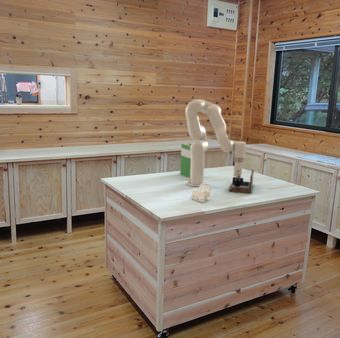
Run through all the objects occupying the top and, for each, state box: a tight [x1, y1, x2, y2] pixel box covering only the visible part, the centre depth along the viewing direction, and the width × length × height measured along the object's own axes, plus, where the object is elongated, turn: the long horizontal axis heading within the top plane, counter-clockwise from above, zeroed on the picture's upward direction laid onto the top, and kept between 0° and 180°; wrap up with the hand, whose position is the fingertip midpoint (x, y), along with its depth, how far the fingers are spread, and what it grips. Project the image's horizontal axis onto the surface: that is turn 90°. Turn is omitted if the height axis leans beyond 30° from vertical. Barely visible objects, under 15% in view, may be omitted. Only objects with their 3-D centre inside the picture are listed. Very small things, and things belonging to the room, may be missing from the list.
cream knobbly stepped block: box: [190, 184, 211, 203], centre depth 235 cm, size 12×6×11 cm, turn 40°
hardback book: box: [179, 143, 192, 178], centre depth 295 cm, size 18×7×24 cm, turn 30°
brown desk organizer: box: [229, 168, 255, 195], centre depth 264 cm, size 14×24×12 cm, turn 166°
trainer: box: [230, 176, 250, 189], centre depth 260 cm, size 12×5×6 cm, turn 76°
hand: (237, 185), depth 261 cm, fingers closed on trainer, 5 cm apart
